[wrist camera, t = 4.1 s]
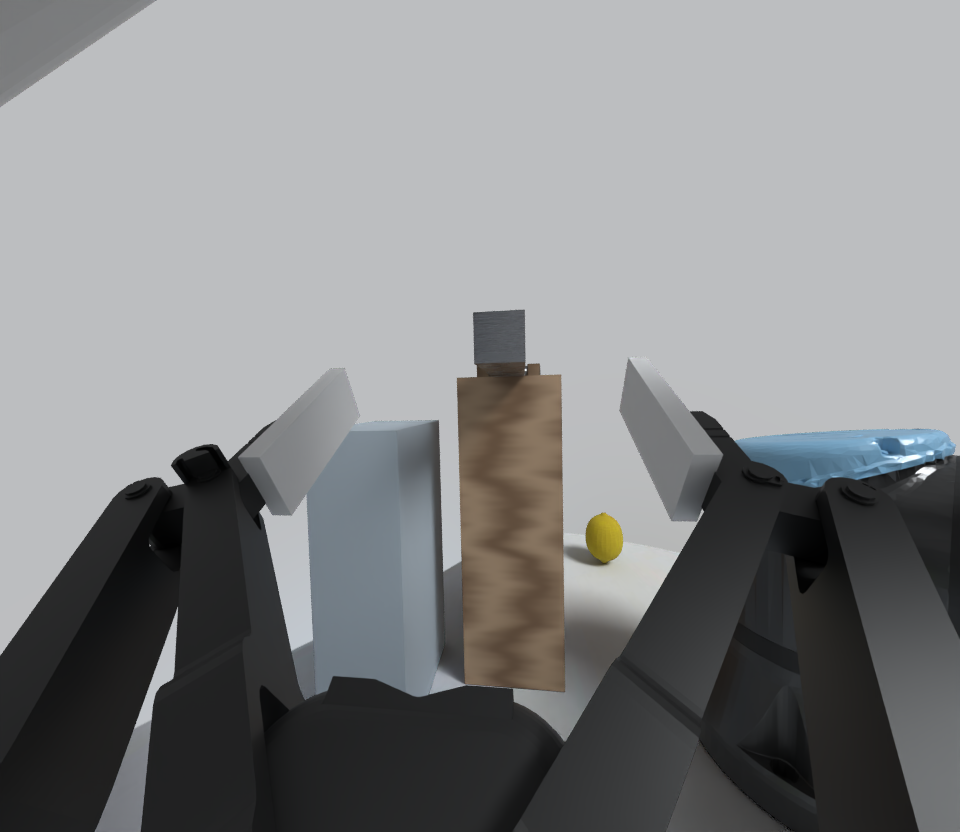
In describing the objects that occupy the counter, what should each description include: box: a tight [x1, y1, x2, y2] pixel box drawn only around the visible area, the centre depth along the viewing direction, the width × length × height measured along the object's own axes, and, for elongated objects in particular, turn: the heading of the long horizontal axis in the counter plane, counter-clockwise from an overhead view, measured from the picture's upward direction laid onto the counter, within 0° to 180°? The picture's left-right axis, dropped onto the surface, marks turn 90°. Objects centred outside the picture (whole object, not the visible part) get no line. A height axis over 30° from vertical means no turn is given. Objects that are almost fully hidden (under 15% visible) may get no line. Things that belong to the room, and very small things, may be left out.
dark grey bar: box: [473, 310, 527, 377], centre depth 33 cm, size 7×28×3 cm, turn 173°
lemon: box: [586, 513, 623, 563], centre depth 54 cm, size 6×6×8 cm
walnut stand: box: [457, 364, 565, 692], centre depth 39 cm, size 9×18×29 cm, turn 173°
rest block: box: [307, 420, 445, 697], centre depth 31 cm, size 7×12×24 cm, turn 173°
